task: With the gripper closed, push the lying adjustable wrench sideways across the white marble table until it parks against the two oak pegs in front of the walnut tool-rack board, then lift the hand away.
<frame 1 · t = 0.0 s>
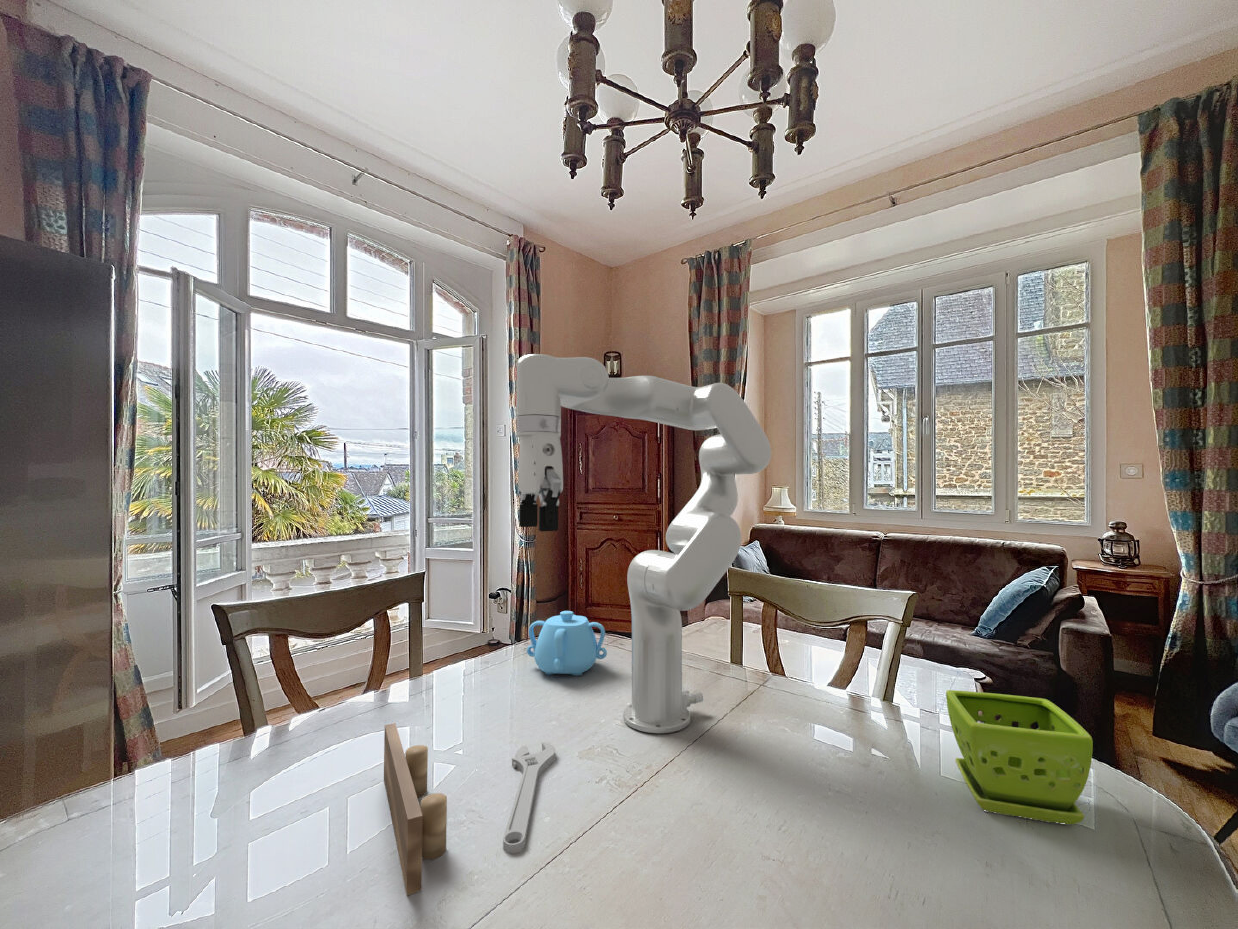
hand: (538, 528, 92), 37 cm above the table, tool pointing down, fingers open, 9 cm apart
tool rack: (399, 826, 70), on the table
adjustable wrench: (522, 796, 78), on the table
decorative pot: (566, 669, 130), on the table
flower pot: (1014, 803, 76), on the table
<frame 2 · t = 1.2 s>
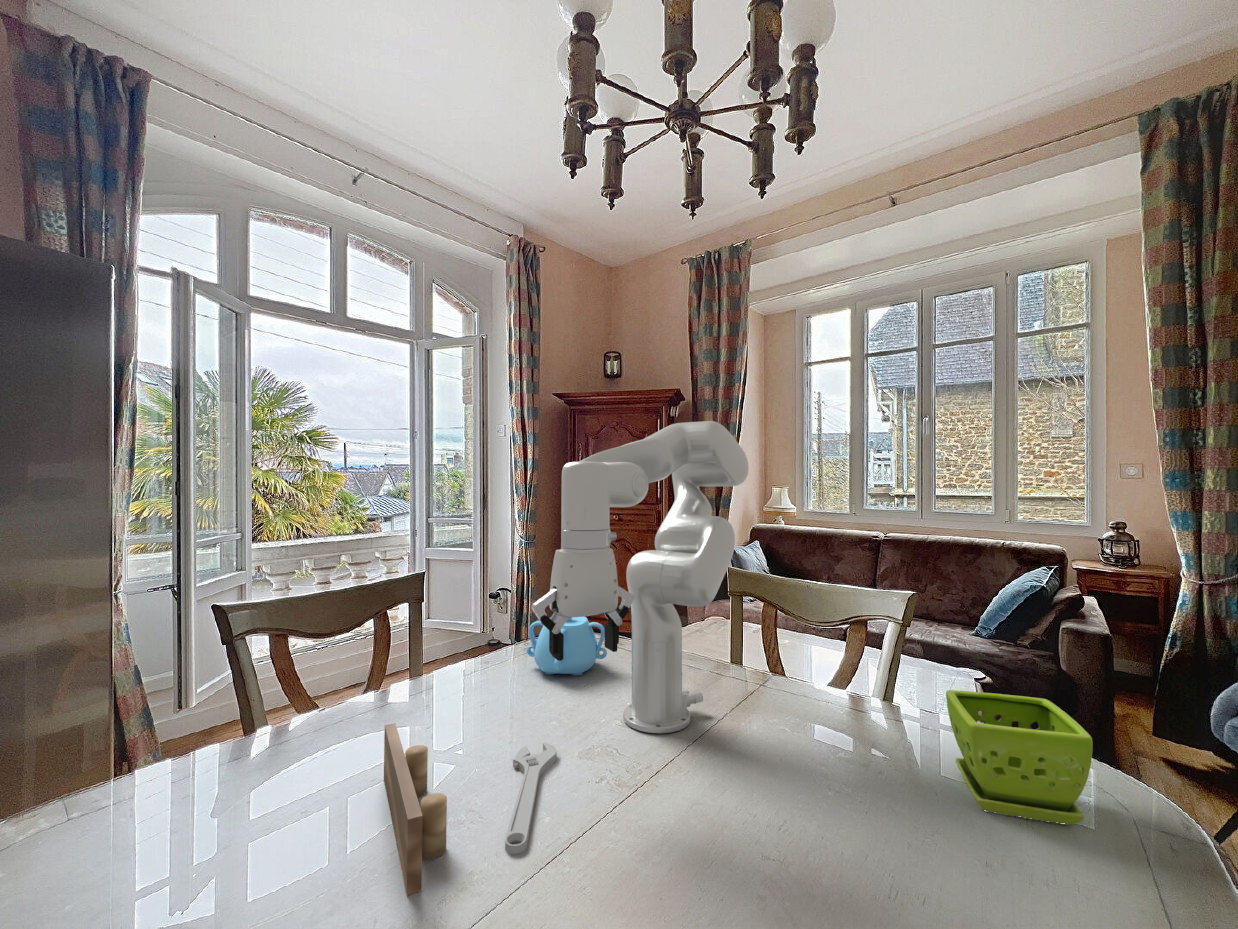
hand: (584, 653, 83), 18 cm above the table, tool pointing down, fingers open, 8 cm apart
nothing on the table moved.
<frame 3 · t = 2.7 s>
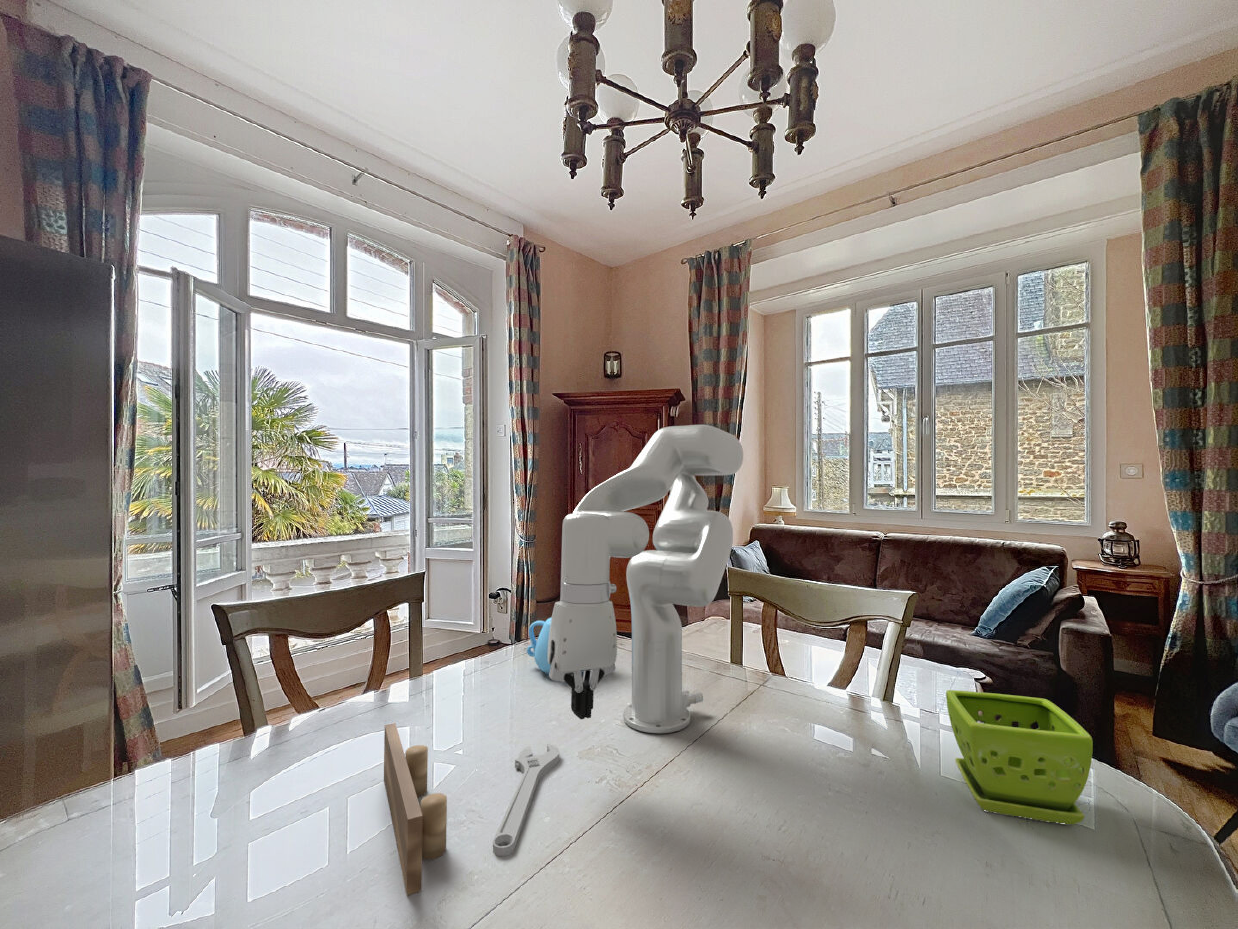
hand: (581, 715, 82), 9 cm above the table, tool pointing down, fingers closed
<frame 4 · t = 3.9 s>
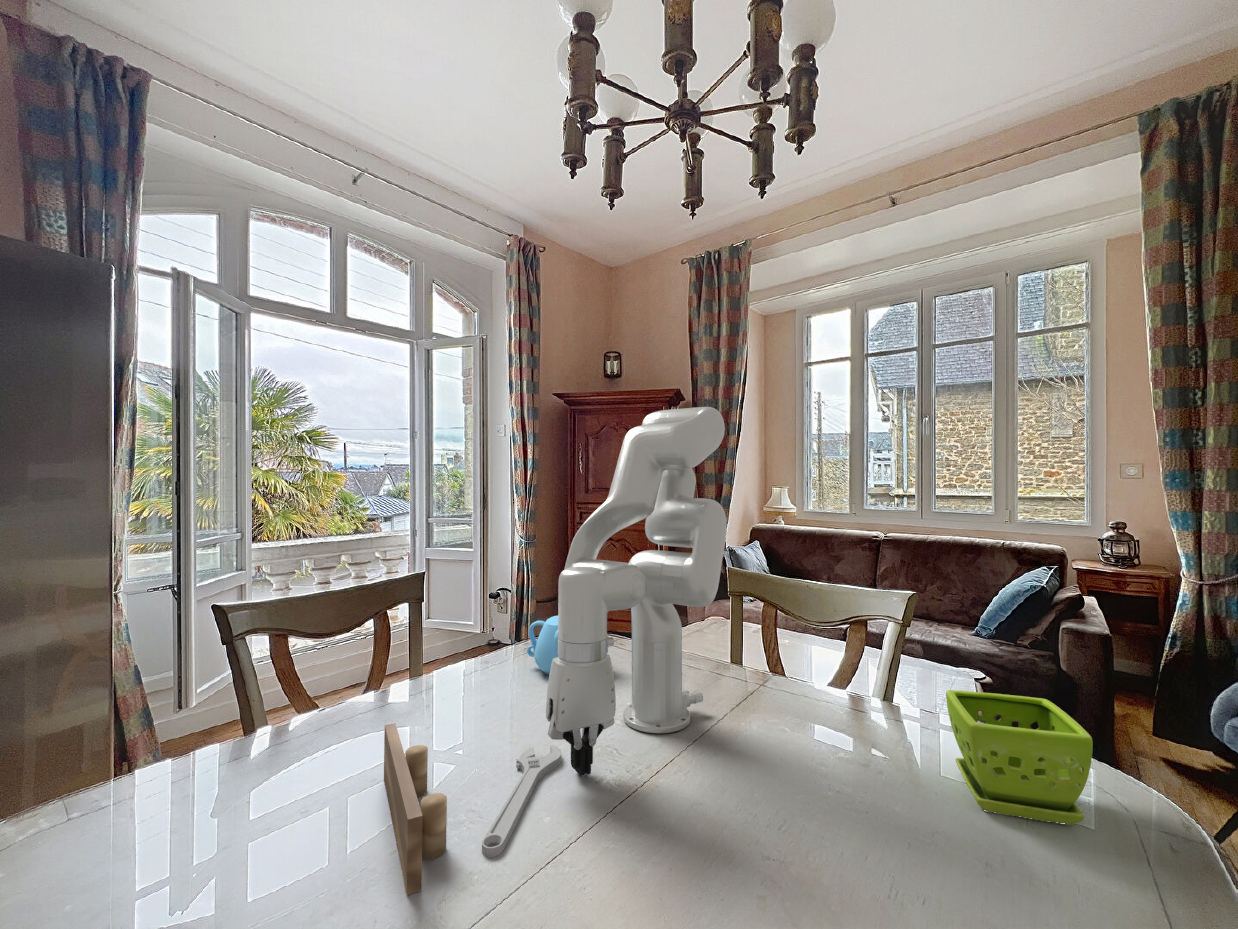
hand: (581, 770, 82), 1 cm above the table, tool pointing down, fingers closed
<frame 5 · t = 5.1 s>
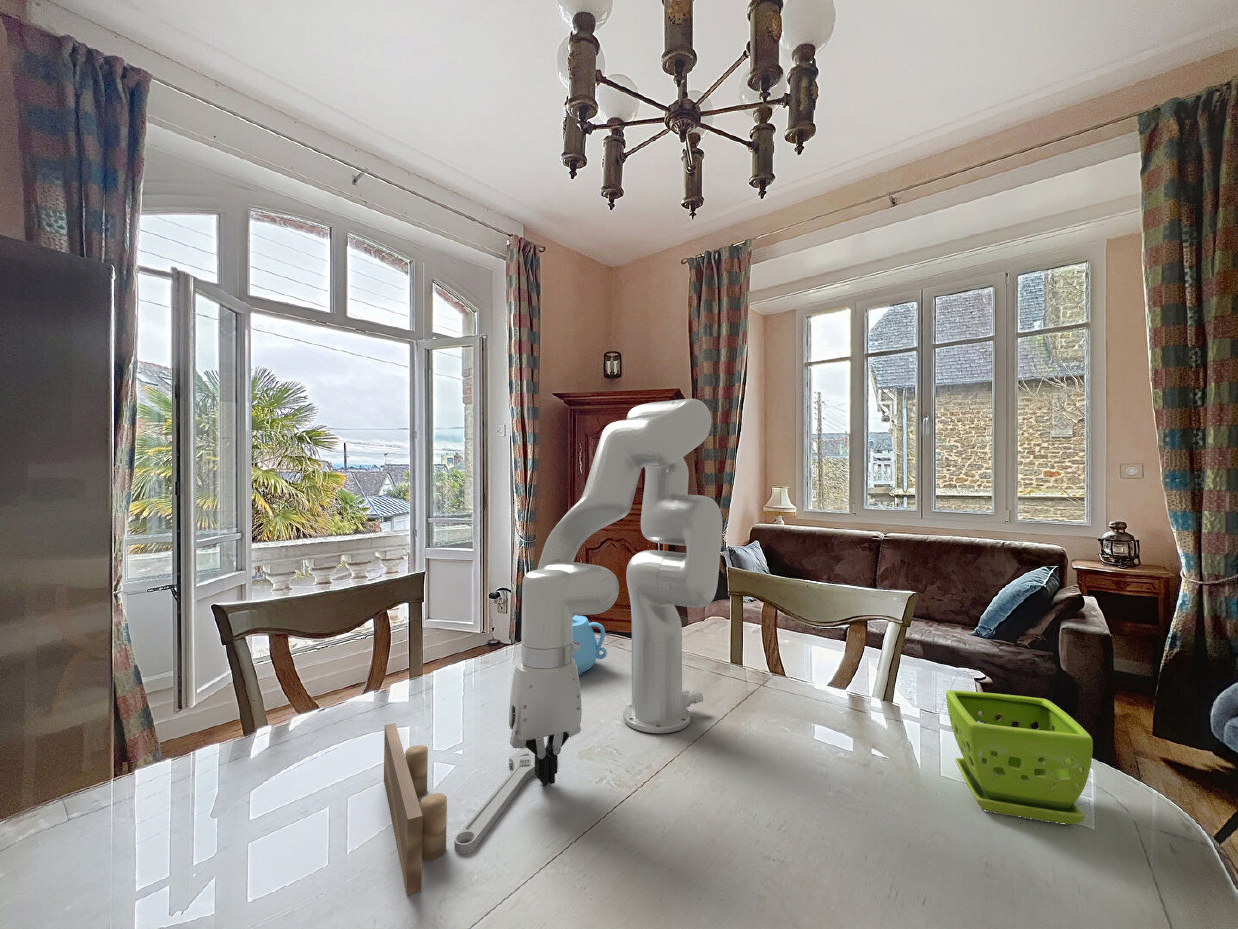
hand: (545, 780, 79), 1 cm above the table, tool pointing down, fingers closed
adjustable wrench: (503, 797, 77), on the table
everything else where it was.
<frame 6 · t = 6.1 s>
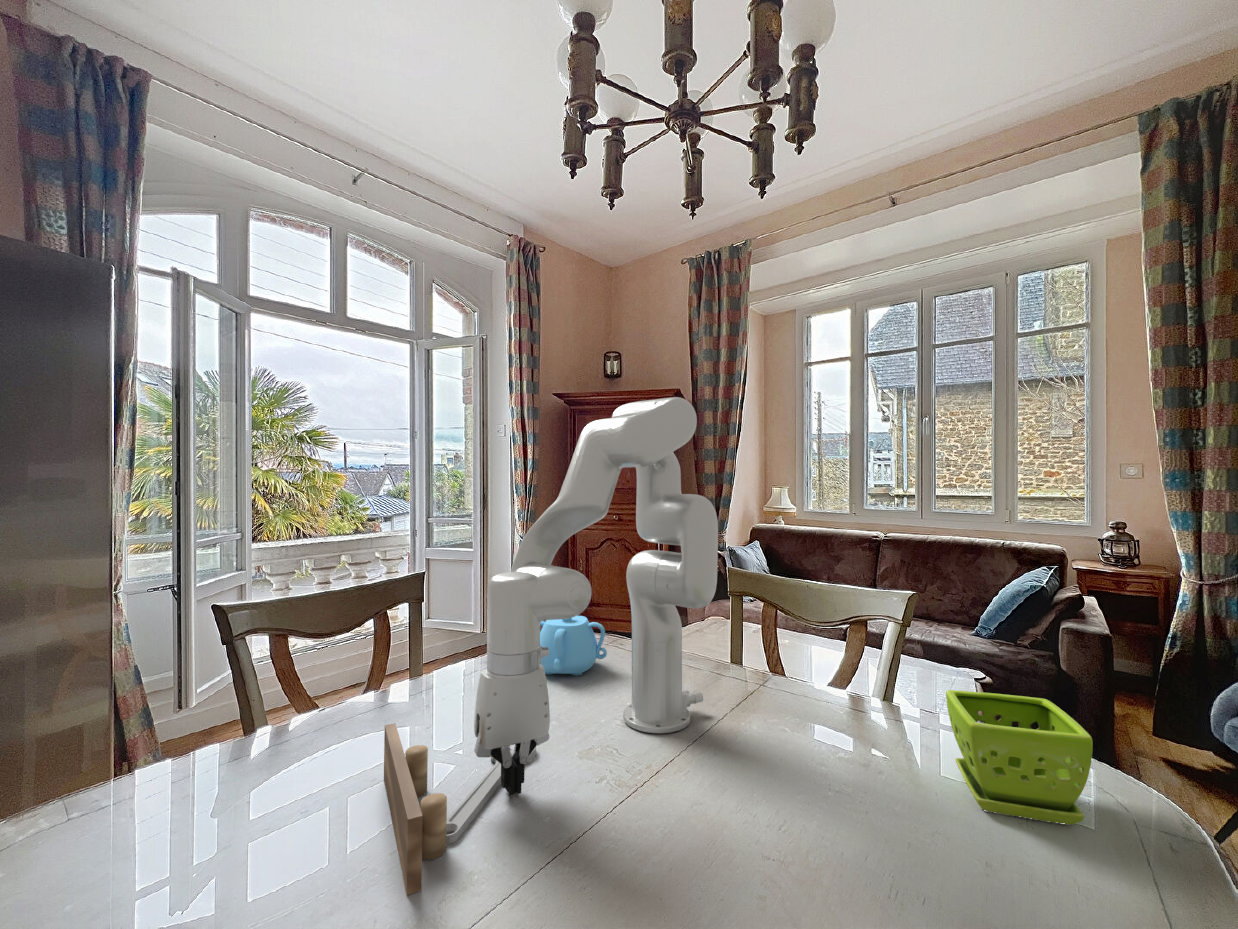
hand: (512, 790, 77), 1 cm above the table, tool pointing down, fingers closed
adjustable wrench: (485, 790, 79), on the table
everything else where it was.
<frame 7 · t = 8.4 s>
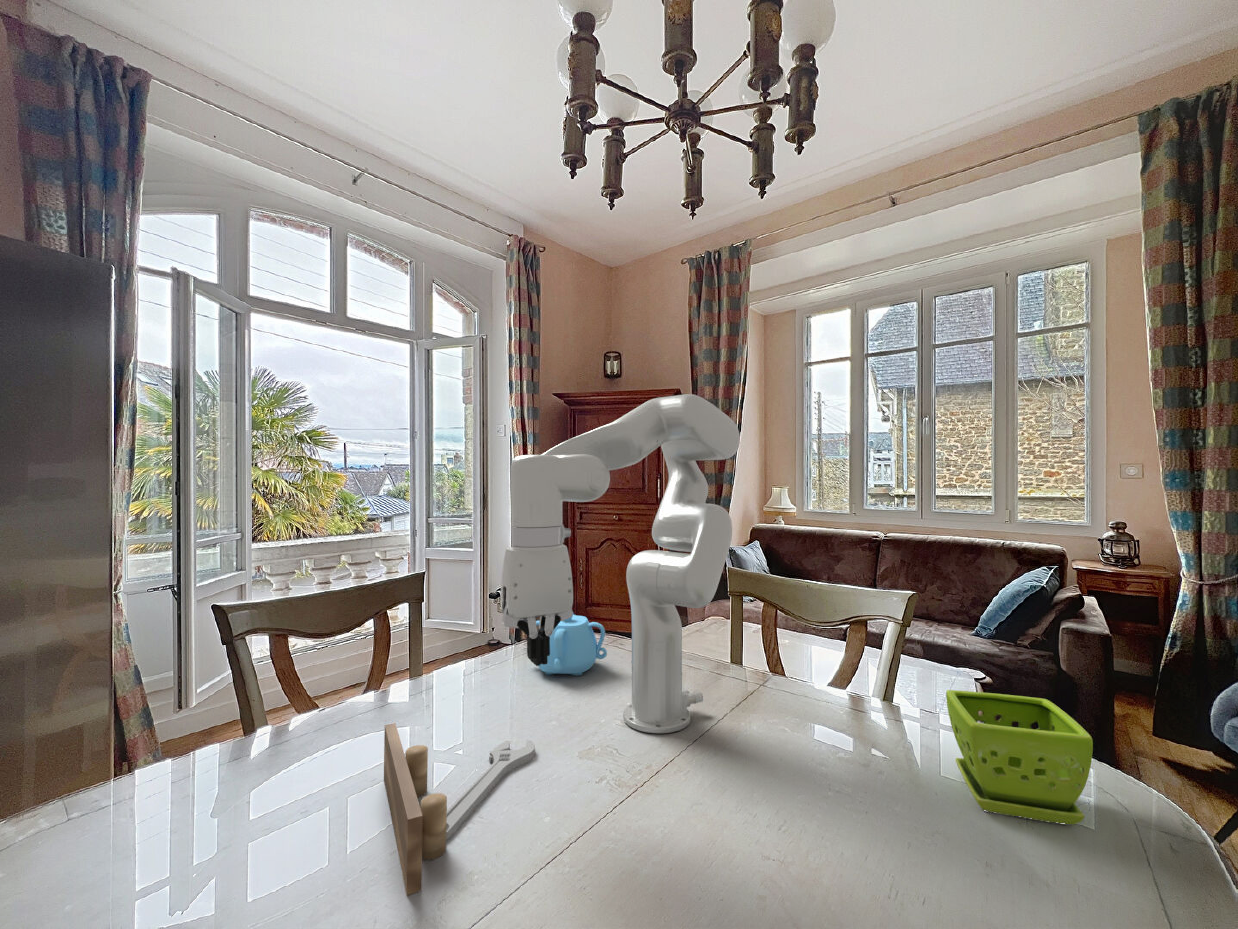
hand: (538, 662, 80), 18 cm above the table, tool pointing down, fingers closed
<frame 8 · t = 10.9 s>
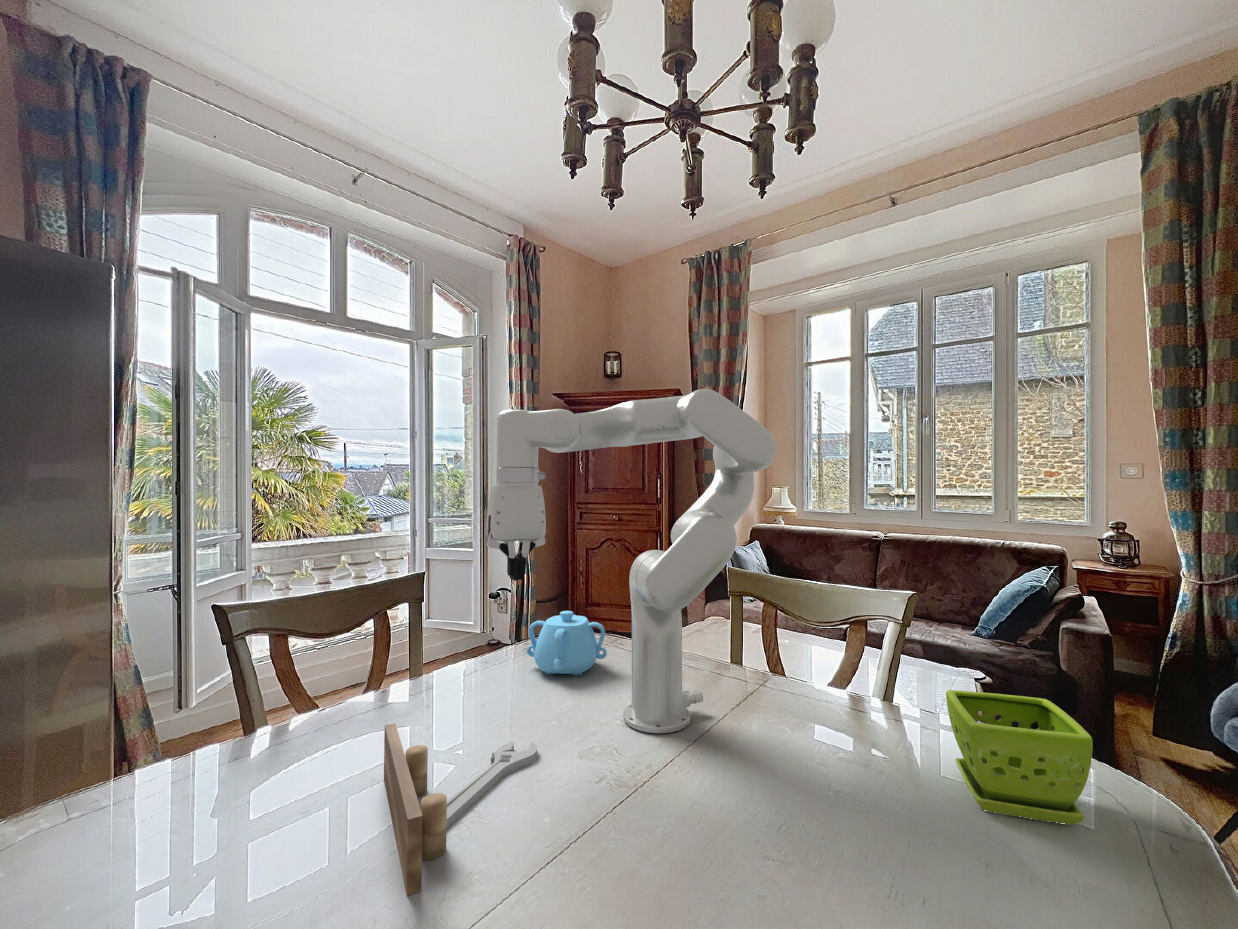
hand: (516, 579, 98), 27 cm above the table, tool pointing down, fingers closed
at the end: adjustable wrench inside the target area (6.1 cm from its centre), on the table; adjustable wrench moved 6.9 cm from its start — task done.
